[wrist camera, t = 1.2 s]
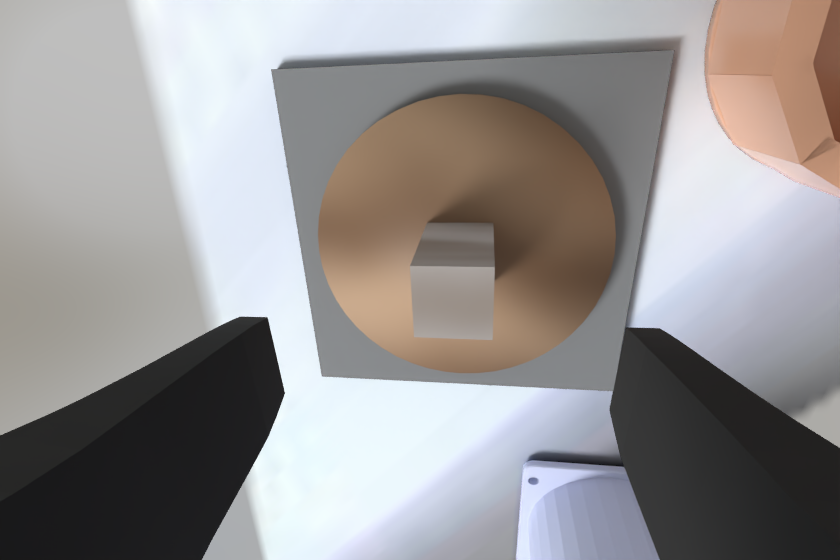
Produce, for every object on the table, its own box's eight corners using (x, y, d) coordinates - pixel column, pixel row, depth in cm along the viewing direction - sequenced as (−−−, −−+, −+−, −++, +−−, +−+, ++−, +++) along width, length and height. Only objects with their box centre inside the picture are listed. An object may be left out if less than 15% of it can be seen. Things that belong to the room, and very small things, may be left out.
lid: (592, 370, 19) (621, 455, 15) (340, 359, 20) (302, 433, 16) (634, 86, 14) (694, 93, 10) (303, 100, 16) (237, 111, 12)
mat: (611, 385, 19) (613, 391, 19) (324, 371, 21) (321, 376, 21) (669, 50, 14) (674, 49, 14) (275, 69, 16) (271, 69, 15)
